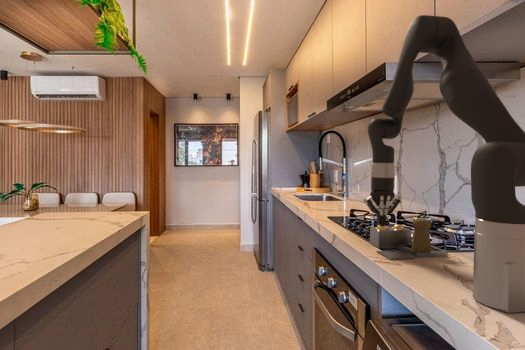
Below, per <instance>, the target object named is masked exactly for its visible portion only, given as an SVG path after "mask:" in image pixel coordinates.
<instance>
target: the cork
mask: <svg viewBox="0 0 525 350" xmlns="http://www.w3.org/2000/svg"><path fill="white" fill-rule="evenodd" d="M412 225H413V227H414V230H413V237H412V241H411V244H412V248H411V249H412V250H415V251H417V252H430V251H431V246H432V244H431V235H430V229H431V228H432V223H431V221H430V219H427V218H424V217H423V218H415V219H414V220H413V221H412Z"/></svg>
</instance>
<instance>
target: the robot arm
mask: <svg viewBox="0 0 525 350" xmlns="http://www.w3.org/2000/svg"><path fill="white" fill-rule="evenodd" d="M420 53H421V54H423V53H424V54H433V55H435V57H437V58H438V60H439V61H440V63H441V65H442V67H443V68H442V72H441V75H440V79H439V84H438V85H439V87H438V88H439V92H440V94H441V96H442V97H443V100H444V101H445V103H446V106H447V107H448V109H449V110H450V112H451V113H452V114H453V115H454V116H456V117H457V119H459V120H460V121H461V122H463V123H464V124H465V125H467V126H468V127H470V128H471V129H472V130H474V131H475V132H476V133H478V134H479V136H481V138H483V140H484V141H485V143H483V144H481V145H479V146H478V148H477V149H476V150H475V151H474V154H473V155H472V158H471V162H470V187H471V188H470V191H471V193H470V194H471V195H470V196H471V203H472V206H473V208H474V213H475V215H474V216H475V218H474V219H475V220H474V246H473V273H472V275H473V276H472V297H473V299H474V300H475V301H477V302H478V303H480V304H482V305H484V306H487V307H490V308H493V309H497V310H500V311H502V312H504V313H506V314H508V313H509V314H510V313H512V314H513V313H522V312H523V313H524V312H525V204H523V203H521V202H520V201H519V200H518V198H517V195H516V188H518V187H525V130H523V129H522V127H521V126H520V125H519V124H518V123H517V121H516V120H515V119H514V118H513V117H512V115H511V114H510V112H509V110H508V109H507V107H506V106H505V104H504V103H503V102H502V100H501V99H500V97H499V96H498V95H497V93H496V92H495V89H494V88H493V86H492V84H491V83H490V81H489V80H488V78H487V77H486V75H485V74H484V72H483V71H482V69H481V68H480V67H479V65H478V64H477V63H476V61H475V60H474V57H473V56H472V54H471V53H470V51H469V50H468V48H467V46H466V44H465V42H464V39H463V38H462V36H461V33H460V30H459V28H458V26H457V24H456V22H454V20H453V19H452V18H449V17H447V16H439V15H428V14H427V15H425V14H424V15H418V16H416V17H415V18H414V19H413V20H412V21H411V23H410V24H409V26H408V28H407V31H406V33H405V36H404V39H403V42H402V47H401V50H400V53H399V58H398V62H397V66H396V69H395V73H394V78H393V79H392V83H391V86H390V88H389V90H388V92H387V95H386V97H385V99H384V102H383V104H382V107H381V111H382V113H383V114H384V115H385V116H387V117H388V118H387V117H386V118H384V117H383V118H382V117H375V118H372V119H371V120H370V122H369V123H368V124H367V125H368V126H367V134H368V138H369V142H370V146H371V151H372V159H371V160H372V161H371V162H372V164H371V172H370V179H371V181H370V182H371V183H370V190H371V191H370V193H369V197H367V198H364V199H363V201H364V203H365V205H366V206H367V207H368V209H369V210H370V212H372V213H373V214H375V215H376V223H377V225H379V226H385V225H387V220H388V218H387V215H389V214H393V212H394V211H395V209H396V208H397V207H398V206H399V204H400V203H401V199H399V198H397V197H396V195H395V192H394V190H395V178H396V177H395V176H396V175H395V174H396V173H395V172H396V169H395V148H394V147H393V146H391V145H387V144H386V143H385V142H384V140H392V139H395V138H397V137H399V135H400V133H401V131H402V125H403V120H404V115H405V112H406V110H407V108H408V105H409V104H410V102H411V100H412V97H413V94H414V89H415V88H414V86H415V85H414V77H413V70H414V69H413V68H414V64H415V61H416V59H417V57H418V56H419V54H420Z"/></svg>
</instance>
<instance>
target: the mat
mask: <svg viewBox="0 0 525 350" xmlns="http://www.w3.org/2000/svg"><path fill="white" fill-rule="evenodd" d="M376 253H377V254H379V255H381V256H382V257H384V258H386V259H388V260H389V261H395V260H396V261H397V260H415V259H416V257H414V256H412V255H410V254H408V253H406V252H403V251H401V250H399V249H394V250H391V249H390V250H376Z"/></svg>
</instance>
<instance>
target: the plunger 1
mask: <svg viewBox="0 0 525 350" xmlns="http://www.w3.org/2000/svg"><path fill="white" fill-rule="evenodd" d="M376 227H377V229H378V230H386V227H388V226H387V224H385V226H379V225H378V224H377V225H376Z"/></svg>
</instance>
